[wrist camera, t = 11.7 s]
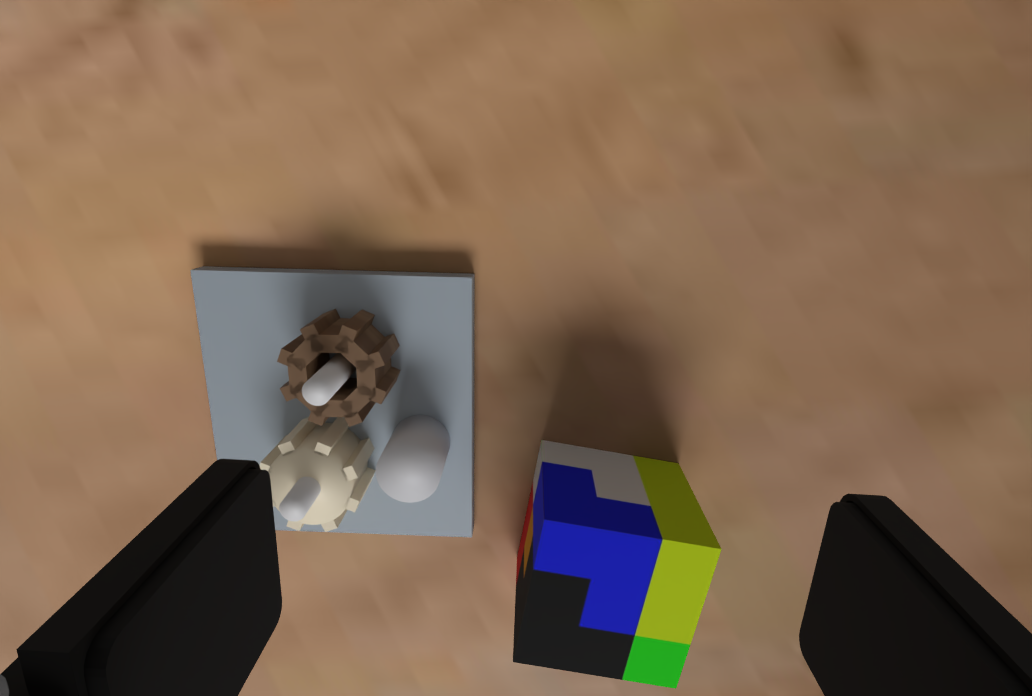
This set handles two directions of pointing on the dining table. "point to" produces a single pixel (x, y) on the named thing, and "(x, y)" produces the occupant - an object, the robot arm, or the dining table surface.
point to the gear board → (420, 385)
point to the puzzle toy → (611, 566)
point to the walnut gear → (358, 348)
